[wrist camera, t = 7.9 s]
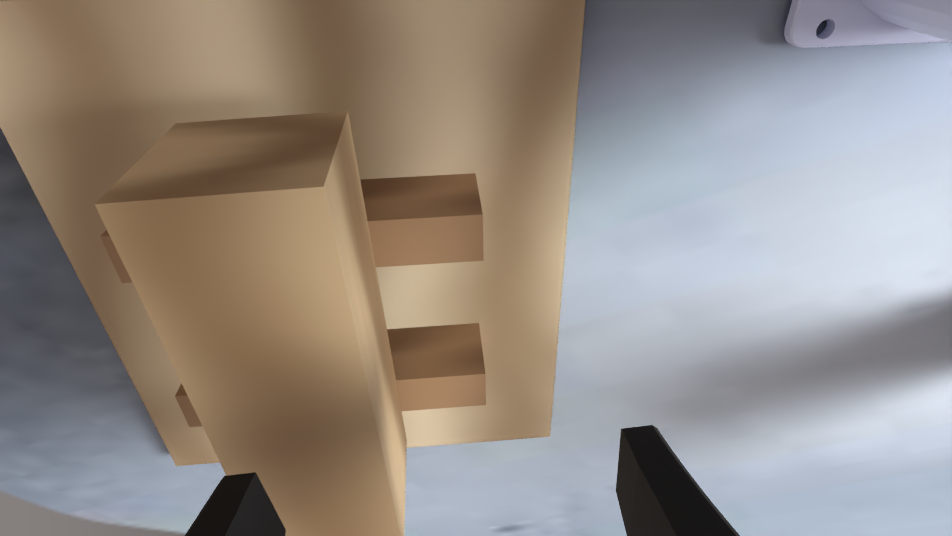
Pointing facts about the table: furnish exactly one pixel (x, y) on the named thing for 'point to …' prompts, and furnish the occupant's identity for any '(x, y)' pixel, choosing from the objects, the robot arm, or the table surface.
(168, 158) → the oak beam
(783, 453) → the table surface
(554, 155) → the rail stand
